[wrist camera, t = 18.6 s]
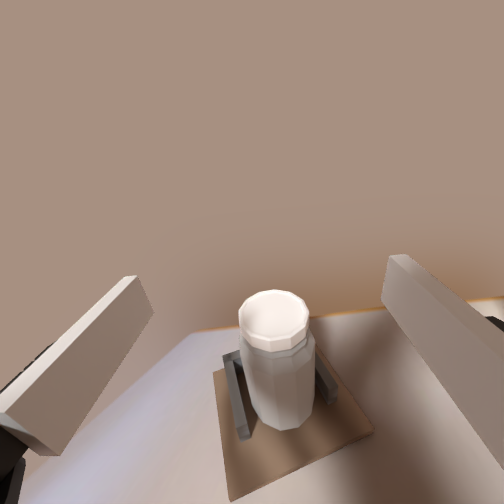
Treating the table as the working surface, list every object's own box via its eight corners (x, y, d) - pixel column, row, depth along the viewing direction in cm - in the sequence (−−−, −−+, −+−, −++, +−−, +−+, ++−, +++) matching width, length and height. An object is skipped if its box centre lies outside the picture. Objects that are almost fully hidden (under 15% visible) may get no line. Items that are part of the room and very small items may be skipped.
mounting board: (311, 341, 42) (311, 322, 40) (373, 432, 28) (378, 412, 26) (214, 376, 38) (207, 358, 36) (230, 502, 25) (222, 485, 22)
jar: (311, 369, 36) (311, 285, 28) (318, 439, 28) (320, 348, 19) (256, 365, 38) (241, 285, 30) (246, 429, 30) (221, 343, 21)
